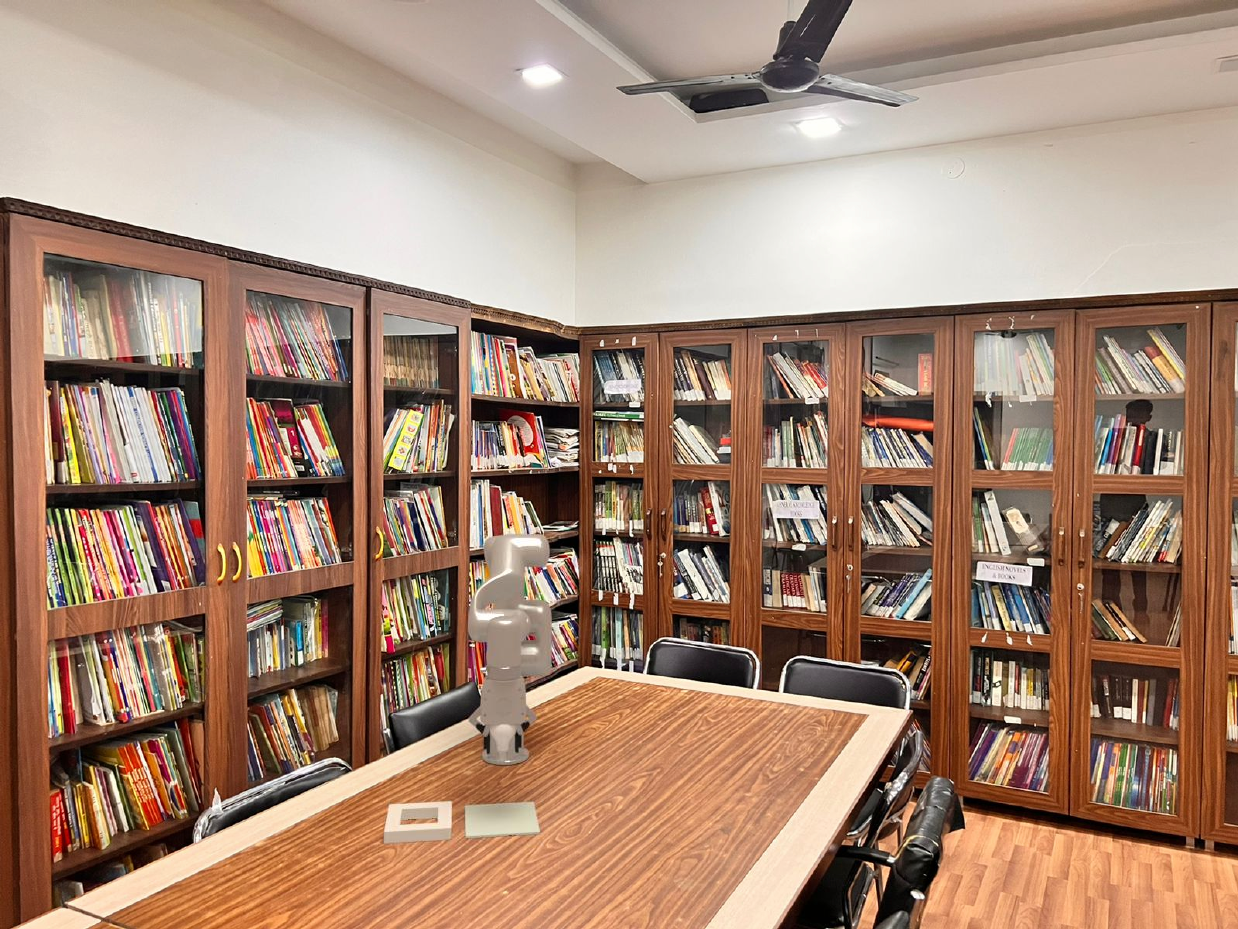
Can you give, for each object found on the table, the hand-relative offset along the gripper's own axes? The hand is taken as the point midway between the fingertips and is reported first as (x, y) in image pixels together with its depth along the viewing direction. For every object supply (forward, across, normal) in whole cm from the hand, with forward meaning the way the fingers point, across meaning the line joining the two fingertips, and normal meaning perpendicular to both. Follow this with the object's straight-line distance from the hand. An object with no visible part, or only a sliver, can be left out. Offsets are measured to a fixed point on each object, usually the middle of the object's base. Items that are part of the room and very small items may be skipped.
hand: (502, 750), depth 195 cm
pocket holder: (+16, -18, -1) cm, 24 cm away
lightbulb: (+3, 0, 0) cm, 3 cm away
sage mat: (+16, 0, 0) cm, 16 cm away
